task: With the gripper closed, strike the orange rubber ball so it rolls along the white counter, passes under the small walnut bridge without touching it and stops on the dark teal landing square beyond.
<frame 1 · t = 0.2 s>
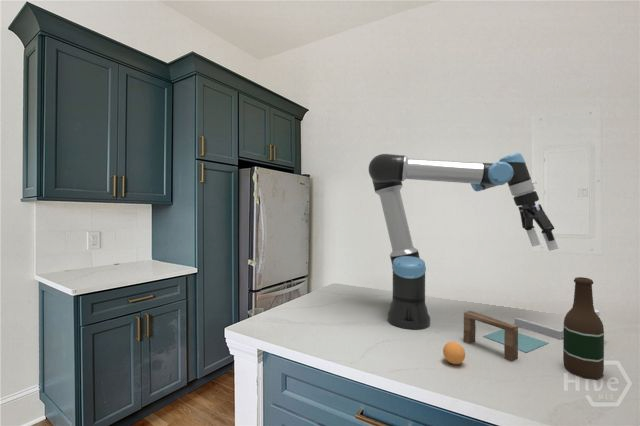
hand: (544, 247, 111), 28 cm above the counter, tool tilted 20°, fingers open, 13 cm apart
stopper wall: (537, 331, 102), on the counter
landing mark: (514, 339, 96), on the counter
supplement bottle: (590, 341, 95), on the counter
ball: (453, 352, 81), on the counter
beer bottle: (582, 372, 77), on the counter
bridge: (489, 349, 89), on the counter
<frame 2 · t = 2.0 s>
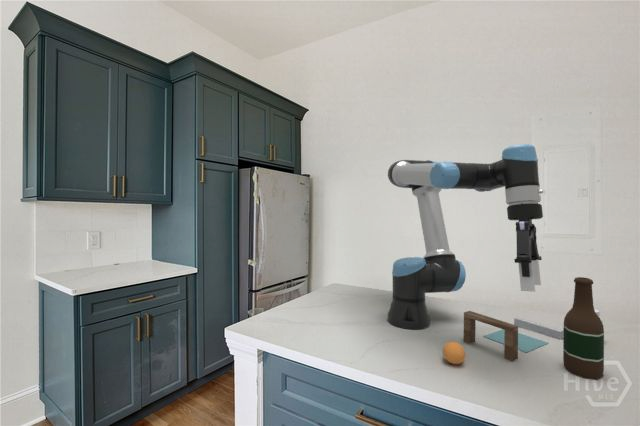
hand: (531, 287, 75), 22 cm above the counter, tool pointing down, fingers open, 13 cm apart
nothing on the counter moved.
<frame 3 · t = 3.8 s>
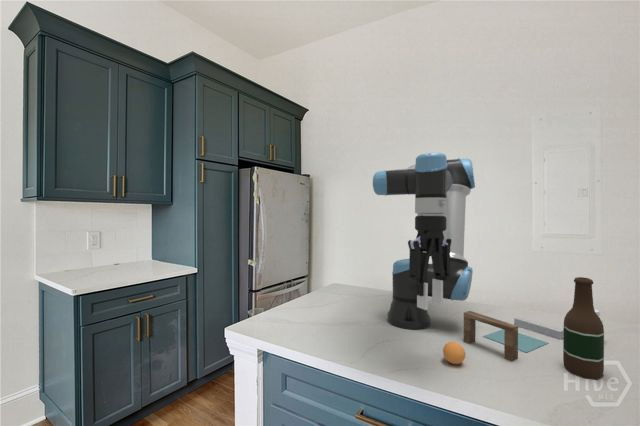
hand: (430, 306, 76), 17 cm above the counter, tool pointing down, fingers open, 5 cm apart
nothing on the counter moved.
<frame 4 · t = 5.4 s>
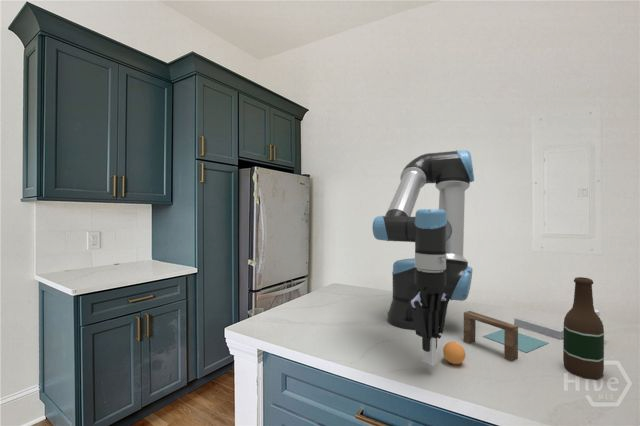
hand: (429, 362, 76), 2 cm above the counter, tool pointing down, fingers closed
nothing on the counter moved.
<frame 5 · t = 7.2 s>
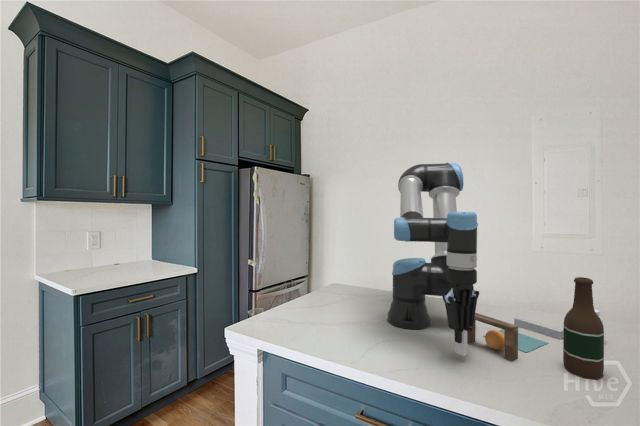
hand: (461, 353, 82), 2 cm above the counter, tool pointing down, fingers closed
ball: (495, 339, 89), on the counter
everything else where it was.
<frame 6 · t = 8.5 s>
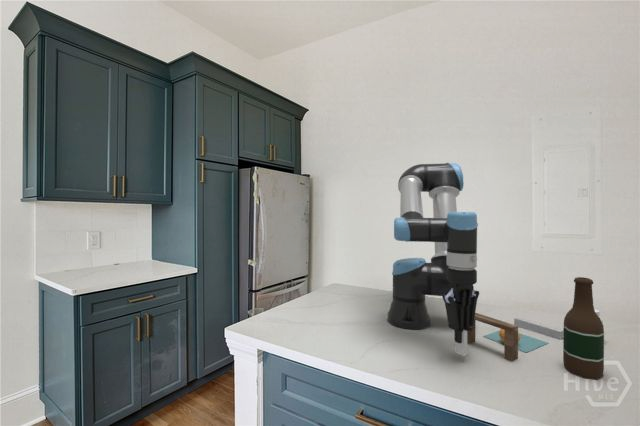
hand: (461, 353, 82), 2 cm above the counter, tool pointing down, fingers closed
ball: (509, 335, 93), on the counter
everything else where it was.
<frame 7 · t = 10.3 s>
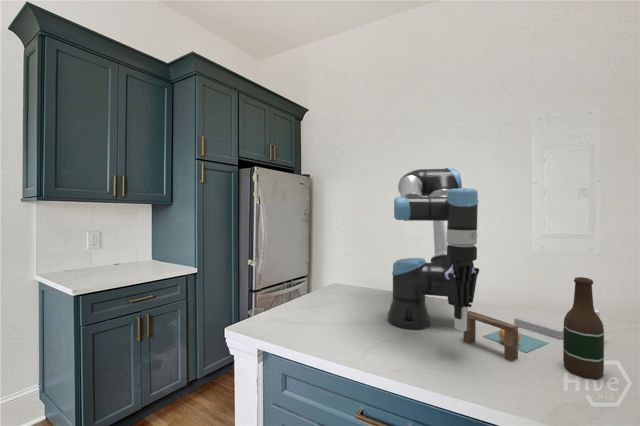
hand: (460, 329, 83), 8 cm above the counter, tool pointing down, fingers closed
nothing on the counter moved.
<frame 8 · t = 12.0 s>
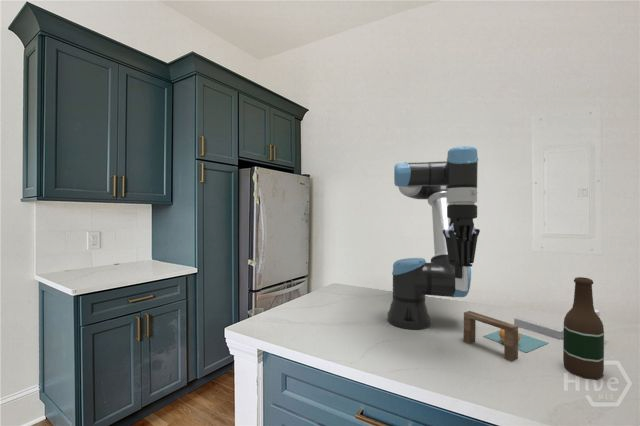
hand: (461, 289, 82), 19 cm above the counter, tool pointing down, fingers closed
nothing on the counter moved.
at the end: ball 4.7 cm from the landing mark (horizontally); ball never touched bridge; ball at rest at the end (0.0 cm/s) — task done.
